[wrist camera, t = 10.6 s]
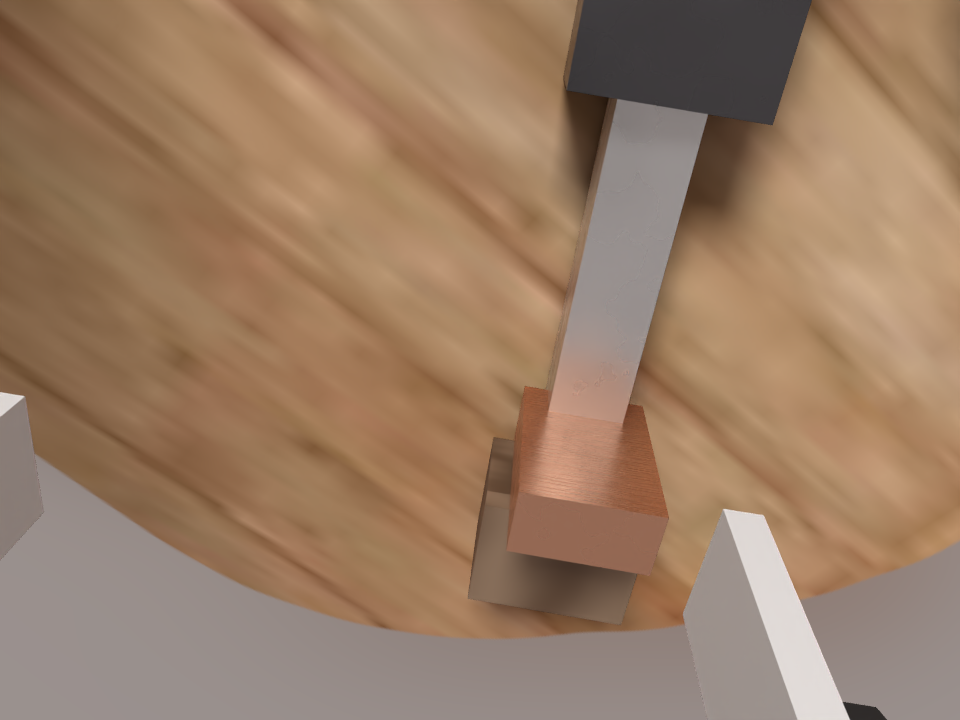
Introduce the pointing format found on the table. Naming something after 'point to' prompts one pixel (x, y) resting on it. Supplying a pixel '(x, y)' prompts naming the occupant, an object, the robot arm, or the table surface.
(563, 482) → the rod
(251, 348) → the table surface
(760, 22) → the sleeve
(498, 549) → the socket
